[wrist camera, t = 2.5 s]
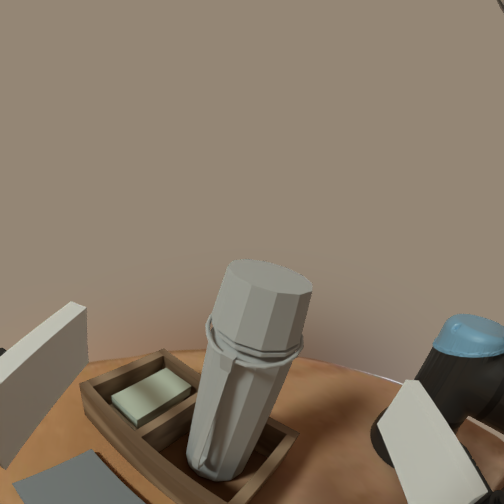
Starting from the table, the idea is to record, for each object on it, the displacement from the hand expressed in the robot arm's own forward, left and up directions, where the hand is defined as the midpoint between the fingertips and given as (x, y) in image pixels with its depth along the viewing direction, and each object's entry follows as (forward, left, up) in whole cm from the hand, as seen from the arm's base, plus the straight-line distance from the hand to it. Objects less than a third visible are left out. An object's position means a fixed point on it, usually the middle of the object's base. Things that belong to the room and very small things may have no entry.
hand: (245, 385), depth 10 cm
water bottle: (-10, -5, -25) cm, 27 cm away
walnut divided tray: (-10, -9, -24) cm, 28 cm away
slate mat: (+6, -9, -24) cm, 27 cm away
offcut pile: (-10, -15, -25) cm, 31 cm away
